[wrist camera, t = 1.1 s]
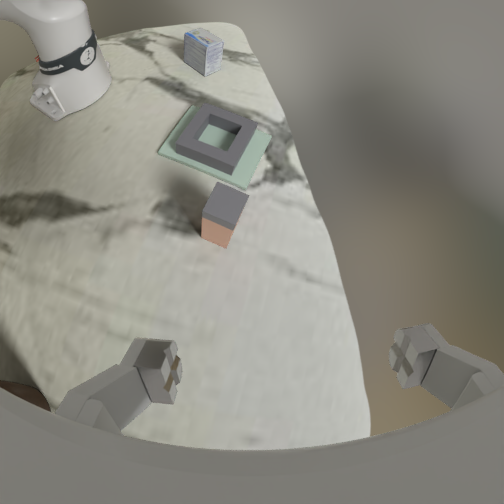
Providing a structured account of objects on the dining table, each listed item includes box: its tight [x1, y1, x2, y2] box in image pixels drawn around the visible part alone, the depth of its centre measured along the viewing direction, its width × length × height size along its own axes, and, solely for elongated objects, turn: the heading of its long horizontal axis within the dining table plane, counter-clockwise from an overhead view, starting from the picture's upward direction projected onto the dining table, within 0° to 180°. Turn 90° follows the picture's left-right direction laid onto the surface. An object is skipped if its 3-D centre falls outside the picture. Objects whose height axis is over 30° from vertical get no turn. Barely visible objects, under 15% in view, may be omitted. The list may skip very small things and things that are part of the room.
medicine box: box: [184, 28, 224, 76], centre depth 44 cm, size 8×4×9 cm, turn 44°
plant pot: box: [0, 380, 51, 412], centre depth 20 cm, size 15×15×16 cm
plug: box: [201, 182, 249, 248], centre depth 35 cm, size 4×4×11 cm
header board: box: [158, 103, 272, 190], centre depth 42 cm, size 16×12×4 cm
